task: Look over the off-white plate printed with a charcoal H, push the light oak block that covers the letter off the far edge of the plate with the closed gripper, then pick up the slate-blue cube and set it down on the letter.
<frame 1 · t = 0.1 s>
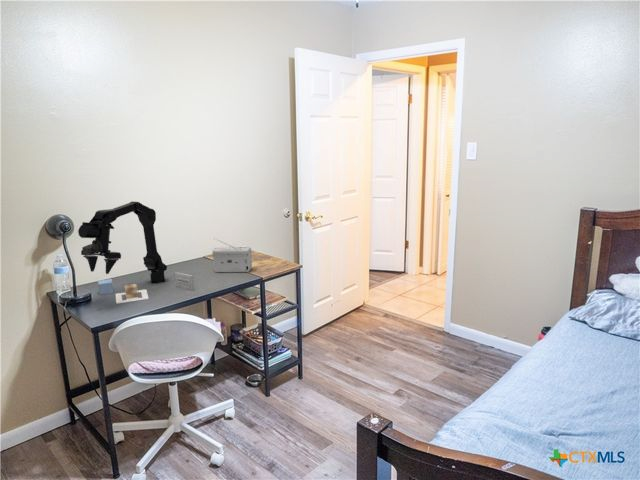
hand: (99, 272, 201), 15 cm above the table, tool pointing down, fingers open, 9 cm apart
cassette: (185, 288, 225), on the table
slate-blue cube: (106, 293, 220), on the table
stereo radio cassette player: (232, 271, 252), on the table
oak block: (131, 296, 213), point 1 cm above the table, touching letter plate
letter plate: (131, 297, 214), on the table
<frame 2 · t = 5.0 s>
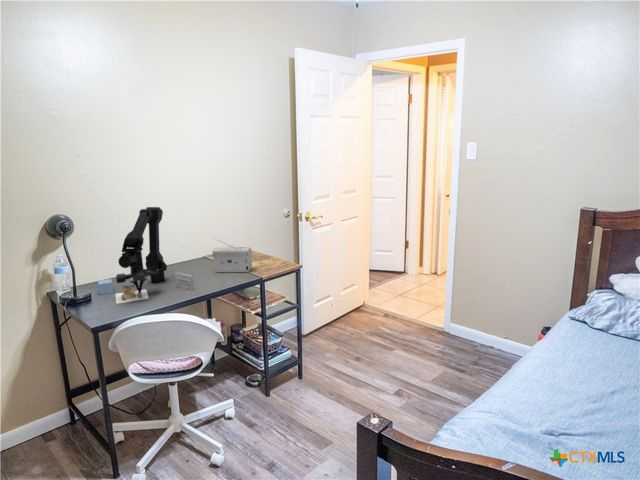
hand: (139, 292, 215), 2 cm above the table, tool pointing down, fingers closed
oak block: (129, 296, 213), point 1 cm above the table, touching gripper
everything else where it was.
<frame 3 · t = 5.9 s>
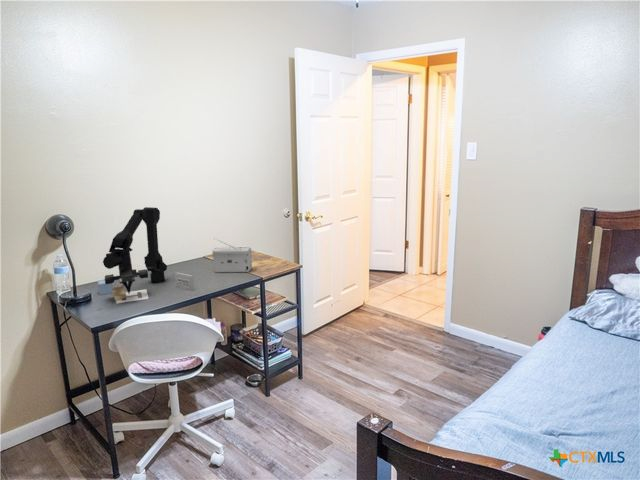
hand: (129, 293, 213), 2 cm above the table, tool pointing down, fingers closed
oak block: (120, 297, 211), point 1 cm above the table, tilted 6°, touching gripper, letter plate
everything else where it was.
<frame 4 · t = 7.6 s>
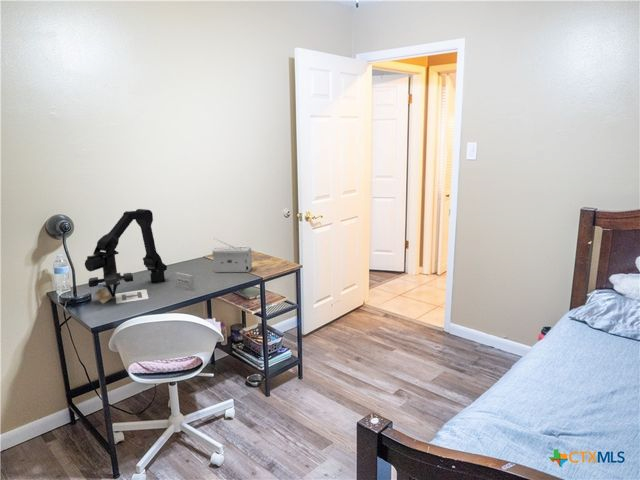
hand: (113, 296, 210), 2 cm above the table, tool pointing down, fingers closed
oak block: (106, 299, 208), point 1 cm above the table, tilted 28°, touching gripper
everything else where it was.
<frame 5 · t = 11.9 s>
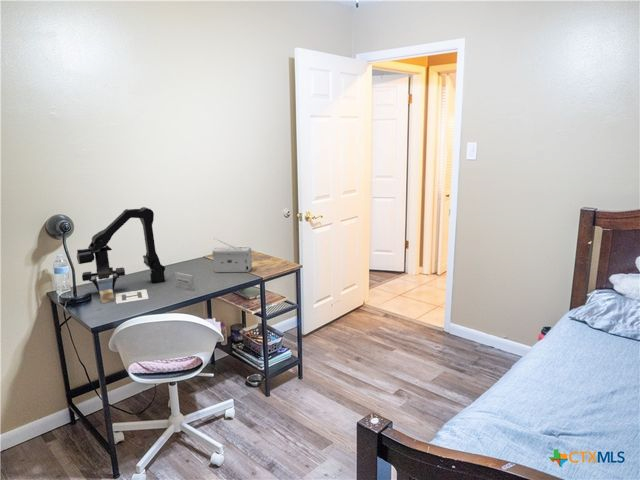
hand: (106, 290, 219), 1 cm above the table, tool pointing down, fingers closed on slate-blue cube, 6 cm apart
slate-blue cube: (106, 292, 220), on the table, touching gripper
oak block: (107, 301, 209), on the table
everything else where it was.
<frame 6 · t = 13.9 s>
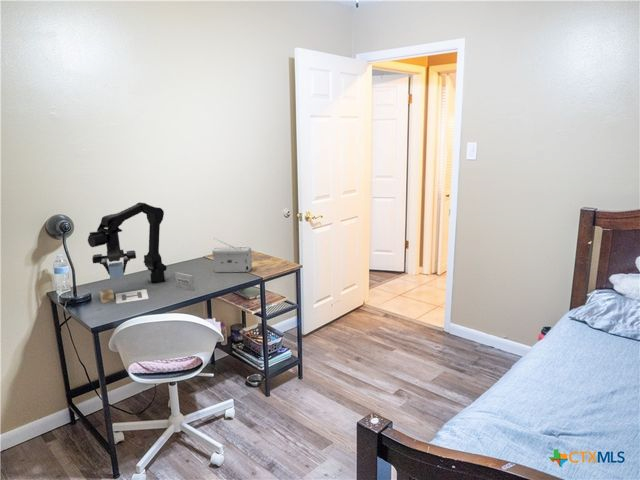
hand: (116, 273, 214), 11 cm above the table, tool pointing down, fingers closed on slate-blue cube, 6 cm apart
slate-blue cube: (117, 276, 214), point 10 cm above the table, touching gripper
everything else where it was.
when the fingers open (3 cm above the table, at t = 16.3 s): slate-blue cube drops 1 cm, resting on letter plate.
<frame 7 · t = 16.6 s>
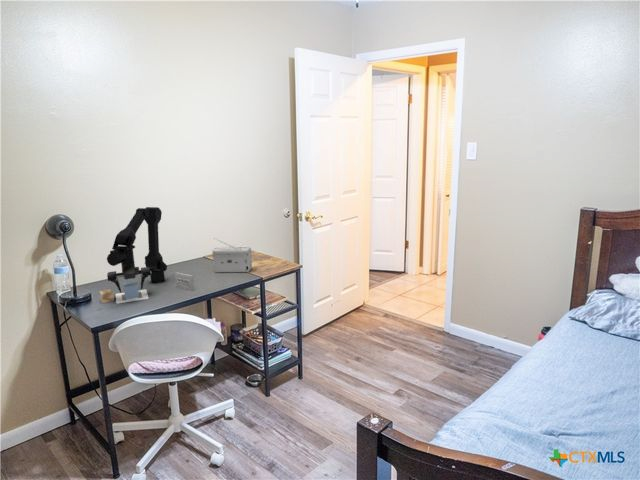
hand: (131, 290, 213), 3 cm above the table, tool pointing down, fingers open, 9 cm apart
slate-blue cube: (131, 296, 213), point 1 cm above the table, touching letter plate
everything else where it was.
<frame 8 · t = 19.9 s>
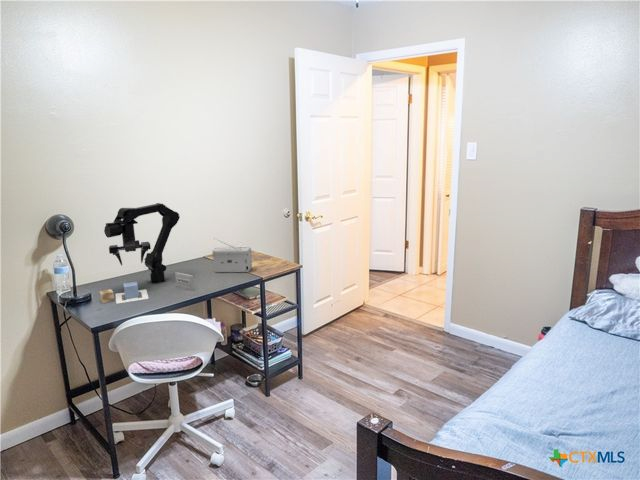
hand: (131, 264, 222), 13 cm above the table, tool pointing down, fingers open, 9 cm apart
nothing on the table moved.
at the end: slate-blue cube inside the target area on the letter plate (0.0 cm from its centre), point 0.5 cm above the letter plate's base; oak block touching table; slate-blue cube tilted 0° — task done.
